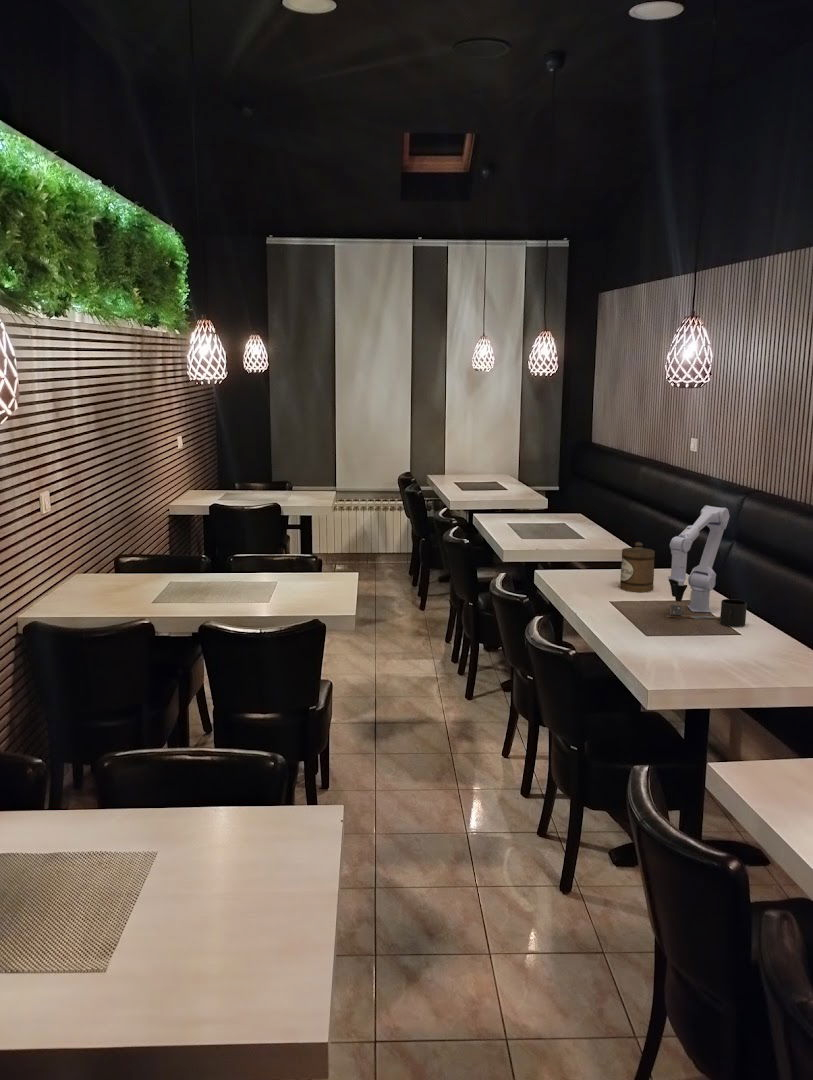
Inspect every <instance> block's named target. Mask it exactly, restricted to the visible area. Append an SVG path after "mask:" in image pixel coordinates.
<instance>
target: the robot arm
mask: <svg viewBox="0 0 813 1080" xmlns="http://www.w3.org/2000/svg"><path fill="white" fill-rule="evenodd" d="M729 519H730V512H729V509H728V508H727V507H717V506H711V505H706V504H705V505H704V506H703V508H702V509H701V510H700V516H699V517H698V518H697V519H696V520H695V522H694V523H693V524H692V525H691V524H690V525H687V526H686V528H685V529H684V530H683V531H682V532H681V533H680V534H679V535H678V536H677V535H675V536H674V537H672V539H670V543H669V549H670V554H671V569H670V575H668V576H667V579H668V583H669V585H670V590H671V596H672V597H674V598H675V602H682V600H683V597H684V594H685V591H686V589H687V588H688V585H689V587H690V589H691V591H690V596H689V597H690V598H689V605H688V604H687V605H686V607H688V609H689V610H690V611H691V612H695V613H712V610H711V609H710V598H711V595H710V594H711V591H712V590H713V589H714V588H715V586H716V577H717V573H716V572H715V571H714V569H713V566H714V562H715V559H716V556H717V553H718V550H719V548H720V543H721V541H722V538H723V534H724V531H725V530H726V529H727V525H728V523H729ZM706 526H707V528H709V533H708V535H707V540H706V543H705V546H704V548H703V551H702V555H701V558H700V562H699V564H698V565H697V566H694V567H693V568H692V570H691V572H690V574H689V576H688V578H687V575H686V573H687V563H688V561H687V560H688V552H689V551H690V550H691V548H692V545H693V542H694V541H695V540H696V539H697V538H698V537H699V535H700V531H701V530H702V529H704V528H705V527H706ZM686 580H687V584H685V581H686Z"/></svg>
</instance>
